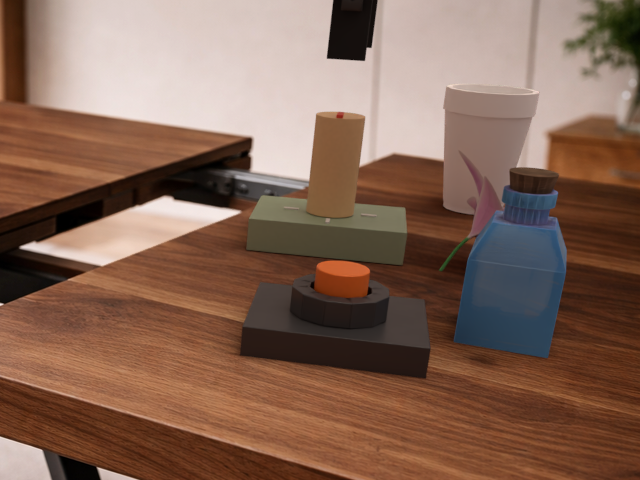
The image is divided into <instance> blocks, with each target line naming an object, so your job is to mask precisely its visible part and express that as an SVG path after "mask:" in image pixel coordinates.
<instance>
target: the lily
mask: <svg viewBox="0 0 640 480" xmlns="http://www.w3.org/2000/svg"><path fill="white" fill-rule="evenodd" d="M458 151H459V150H458ZM459 153H460V155H461V157H462V159H463V160H464V162H465V164H466V165H467V167H468V169H469V171H470V173H471V175H472V177H473V179H474V182H475V184H476V187H477V191H478V195H479V200H478V204H477V201H476V197H475V196H473V197H470V198H469V199H468V200H467V203H468V204H469V205H470V206H471V207H472V208H473V209H474V210H475V212H474V215H473V219H472V225H471V230H470V232H469V234H468V235H467V236H466V237H465V238H464V239H462V241H460V242H459V244H458V245H457V246H456V247H455V248H454V249H453V250H452V252H451V253H450V254H449V256H448V257H447V258H446V259H445V261H444V262H443V264H442V265H441V267H440V268H439V269H438V271H439V272H440V273H441V272H444V270H445V268H446V267H447V266H448V264H449V263H450V261H451V260H452V259H453V258H454V256H455V255H456V253H457V252H458V251H459V250H460V249H461V248H462V247H463V246H464V245H465V244H466V243H468V242H469V241H470V240H471V239H473V238H476V237H477V236H478V235H479V233H480V232H481V231H482V229H483V228H484V227H485V225H486V224H487V222H488V221H489V220H490V218H491V217H492V216H493V214H494V213H495V212H496V210H498V211H504V209H505V206H503V207H502V206H501V203H500V201H499V198H498V196H497V194H496V192H495V190H494V188H493V186H492V184H491V183H490V181H489V180H488V179H487V177H486V176H484V179H483V177H482V175H481V174H480V172H479V170H478V169H477V168H476V167H475V165H474V164H473V163H472V162H471V161H470V160H469V159H468V158H467V157H466V156H465V155H464V154H463V153H462V152H461V151H459Z"/></svg>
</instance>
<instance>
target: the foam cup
mask: <svg viewBox="0 0 640 480" xmlns="http://www.w3.org/2000/svg"><path fill="white" fill-rule="evenodd" d="M539 97H540V91H538V90H535V89H532V88H527V87H520V86H519V87H518V86H512V85H511V86H510V85H501V84H487V83H454V84H448V85H446V86H445V92H444V99H443V104H442V105H443V106H442V109H443V110H444V127H443V128H444V129H443V130H444V131H443V132H444V135H443V174H442V175H443V181H442V183H443V184H442V201H443V204H442V207H444V208H445V209H446V210H449V211H452V212H454V213H459V214H460V213H461V214H466V215H473V216H474V212H475V210H474V209H473V208H472V207H471V206H470V205H469V204H468V203H467V200H468V199H469V198H470V197H473V196H475V197H476V201H477V204H478V200H479V195H478V191H477V187H476V184H475V182H474V179H473V177H472V175H471V173H470V171H469V169H468V167H467V165H466V164H465V162H464V160H463V159H462V157H461V155H460V153H459V151H461V152H462V153H463V154H464V155H465V156H466V157H467V158H468V159H469V160H470V161H471V162H472V163H473V164H474V165H475V167H476V168H477V169H478V170H479V172H480V174H481V175H482V177H483V179H484V176H486V177H487V179H488V180H489V181H490V183H491V184H492V186H493V188H494V190H495V192H496V194H497V196H498V198H499V201H500V203H501V206H502V207H505V203H503V202H502V195H503V189H504V186H506V185H510V173H509V169H511V168H516V167H518V163H519V161H520V158H521V155H522V151H523V148H524V145H525V142H526V139H527V136H528V132H529V130H530V126H531V123H532V120H533V117H535V116H536V113H537V108H538V102H539ZM458 150H459V151H458Z"/></svg>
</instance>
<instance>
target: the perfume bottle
mask: <svg viewBox="0 0 640 480" xmlns="http://www.w3.org/2000/svg"><path fill="white" fill-rule="evenodd" d="M509 173H510V185H506V186H504V189H503V195H502V202H503V203H505V204H504V208H505V209H504V211H498V210H496V212H495V213H494V214H493V216H492V217H491V218H490V220H489V221H488V222H487V224H486V225H485V227H484V228H483V229H482V231H481V232H480V233H479V235H478V236H477V237H475V239H474V242H473V245H472V247H471V250H470V253H469V254H468V258H467V262H466V268H465V272H464V273H465V274H464V278H463V285H462V291H461V297H460V302H459V308H458V314H457V319H456V326H455V331H454V337H453V343H455V344H462V345H466V346H467V345H468V346H474V347H477V348H479V347H480V348H484V349H491V350H497V351H504V352H507V353H514V354H521V355H524V356H525V355H527V356H531V357H532V356H533V357H537V358H544V359H548V358H549V355H550V350H551V346H552V341H553V337H554V333H555V332H554V331H555V327H556V321H557V317H558V312H559V308H560V304H561V303H560V302H561V299H562V295H563V294H562V293H563V289H564V284H565V280H566V274H567V254H568V250H567V247H566V244H565V240H564V236H563V233H562V230H561V227H560V224H559V220H558V217H556V216H550V212H551V210H552V209H555V208H556V206H557V200H558V195H559V192H558V190H555V189H554V188H555V186H556V183H557V182H558V179H559V177H560V173H559V172H556V171H554V170H549V169H544V168H537V167H528V166H527V167H524V166H523V167H522V166H517V167H516V168H511V169H509Z"/></svg>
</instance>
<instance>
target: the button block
mask: <svg viewBox="0 0 640 480" xmlns="http://www.w3.org/2000/svg"><path fill="white" fill-rule="evenodd" d="M315 275H316V273H308V274H305V275H302V276H300V277H296V278H294V280H293V282H292V284H283V283H273V282H263V281H260V282H259V284H258V286H257V289H256V292H255V293H254V297H253V298H252V301H251V304H250V306H249V308H248V311H247V314H246V316H245V319H244V321H243V323H242V327H241V337H240V347H239V356H241V357H247V358H248V357H249V358H256V359H264V360H272V361H274V360H275V361H281V362H289V363H296V364H305V365H314V366H319V367H320V366H321V367H328V368H329V367H330V368H336V369H337V368H339V369H347V370H352V371H353V370H354V371H361V372H371V373H378V374H386V375H392V376H393V375H395V376H402V377H408V378H409V377H411V378H418V379H427V373H428V369H429V361H430V356H431V350H432V348H431V341H430V340H431V339H430V332H429V324H428V323H429V322H428V315H427V307H426V300H425V299H423V298H414V297H404V296H395V295H390V288H388V287H387V286H386V285H384V284H382V283H380V282H379V281H376V280H373V279H370V278H369V285H368V292H367V296H364V297H354V298H343V297H334V296H329V295H325V294H322V293H318V292H316V291H315V290H314V284H315Z"/></svg>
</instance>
